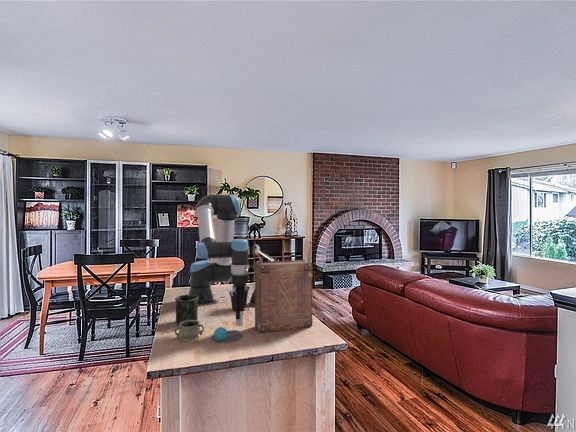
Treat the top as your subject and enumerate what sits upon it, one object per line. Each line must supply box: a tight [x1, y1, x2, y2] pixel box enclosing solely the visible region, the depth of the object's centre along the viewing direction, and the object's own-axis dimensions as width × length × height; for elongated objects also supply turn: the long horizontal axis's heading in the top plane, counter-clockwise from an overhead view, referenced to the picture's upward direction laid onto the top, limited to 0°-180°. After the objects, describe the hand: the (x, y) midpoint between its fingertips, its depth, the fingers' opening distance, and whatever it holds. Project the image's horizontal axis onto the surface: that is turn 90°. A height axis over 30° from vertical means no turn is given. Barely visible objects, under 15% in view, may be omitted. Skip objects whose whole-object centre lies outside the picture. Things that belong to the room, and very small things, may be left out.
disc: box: [211, 330, 244, 343], centre depth 145 cm, size 13×13×1 cm
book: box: [254, 259, 314, 334], centre depth 158 cm, size 25×9×30 cm, turn 112°
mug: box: [174, 294, 199, 326], centre depth 161 cm, size 11×15×12 cm
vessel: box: [174, 320, 205, 342], centre depth 143 cm, size 12×9×6 cm
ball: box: [213, 326, 228, 342], centre depth 140 cm, size 6×6×6 cm
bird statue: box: [249, 243, 276, 307], centre depth 197 cm, size 17×13×35 cm
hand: (239, 325), depth 154 cm, fingers closed
